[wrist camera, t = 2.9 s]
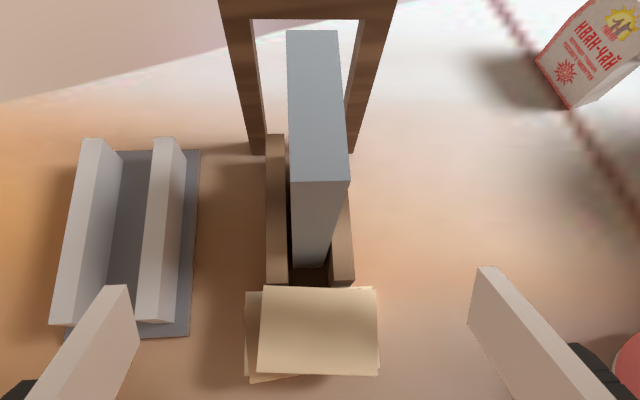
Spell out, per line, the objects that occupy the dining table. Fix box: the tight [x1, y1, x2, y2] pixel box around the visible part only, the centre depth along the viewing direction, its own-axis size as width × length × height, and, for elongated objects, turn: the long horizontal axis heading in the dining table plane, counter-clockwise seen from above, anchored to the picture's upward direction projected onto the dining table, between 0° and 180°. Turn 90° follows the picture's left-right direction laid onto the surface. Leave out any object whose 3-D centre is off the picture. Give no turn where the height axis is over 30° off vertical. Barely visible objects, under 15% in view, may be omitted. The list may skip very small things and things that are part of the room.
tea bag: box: [534, 0, 640, 110], centre depth 37 cm, size 4×7×10 cm, turn 21°
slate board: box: [286, 30, 351, 268], centre depth 26 cm, size 8×2×18 cm, turn 3°
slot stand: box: [48, 137, 201, 342], centre depth 30 cm, size 16×9×5 cm, turn 3°
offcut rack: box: [218, 0, 397, 384], centre depth 25 cm, size 21×10×18 cm, turn 3°
